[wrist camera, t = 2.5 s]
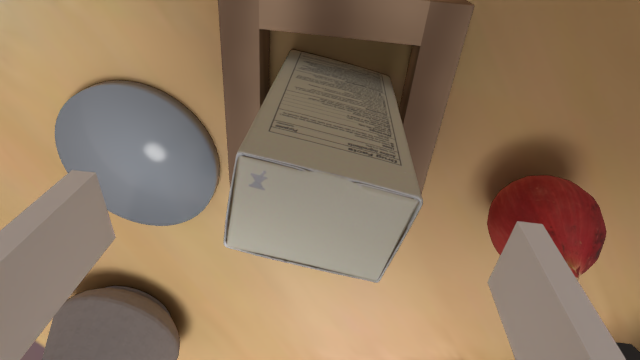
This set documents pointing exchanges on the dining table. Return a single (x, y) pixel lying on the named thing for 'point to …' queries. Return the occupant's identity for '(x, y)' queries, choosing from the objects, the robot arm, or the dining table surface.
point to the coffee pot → (112, 327)
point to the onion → (551, 217)
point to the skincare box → (324, 172)
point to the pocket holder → (356, 23)
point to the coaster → (139, 151)
